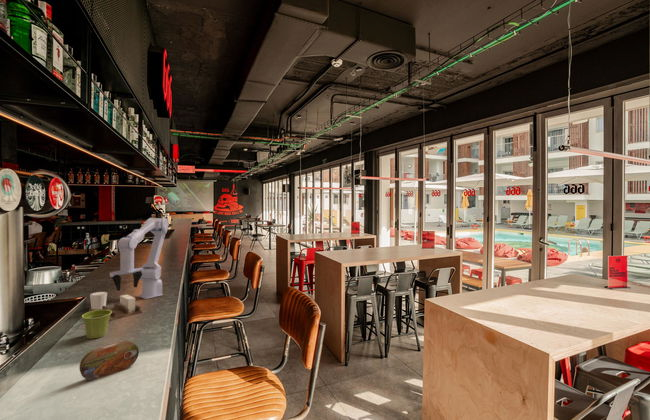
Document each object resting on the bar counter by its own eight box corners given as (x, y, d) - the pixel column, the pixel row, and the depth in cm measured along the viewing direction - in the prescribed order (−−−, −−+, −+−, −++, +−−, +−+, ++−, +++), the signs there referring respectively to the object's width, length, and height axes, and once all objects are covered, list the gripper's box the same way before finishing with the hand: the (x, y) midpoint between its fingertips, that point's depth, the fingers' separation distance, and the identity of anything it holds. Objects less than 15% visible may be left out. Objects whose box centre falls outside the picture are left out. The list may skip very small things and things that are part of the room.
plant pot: (117, 332, 121) (117, 311, 121) (92, 342, 112) (92, 319, 112) (100, 329, 124) (101, 308, 124) (75, 338, 116) (75, 316, 115)
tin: (80, 385, 87) (80, 356, 87) (78, 380, 89) (78, 352, 89) (139, 364, 98) (139, 339, 98) (135, 361, 100) (136, 336, 100)
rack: (128, 306, 152) (128, 300, 152) (141, 312, 144) (141, 306, 144) (87, 315, 138) (87, 309, 138) (99, 323, 130) (99, 316, 130)
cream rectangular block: (126, 306, 149) (127, 294, 149) (135, 310, 144) (135, 298, 143) (119, 308, 146) (120, 295, 146) (128, 312, 141) (128, 299, 141)
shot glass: (97, 310, 145) (97, 296, 145) (85, 309, 146) (86, 294, 146) (110, 305, 152) (110, 292, 152) (99, 304, 153) (99, 290, 153)
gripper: (114, 264, 143) (113, 293, 143) (146, 260, 154) (146, 286, 155) (107, 262, 147) (107, 290, 147) (140, 258, 158) (139, 284, 159)
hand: (127, 288), depth 151 cm, fingers open, 7 cm apart
